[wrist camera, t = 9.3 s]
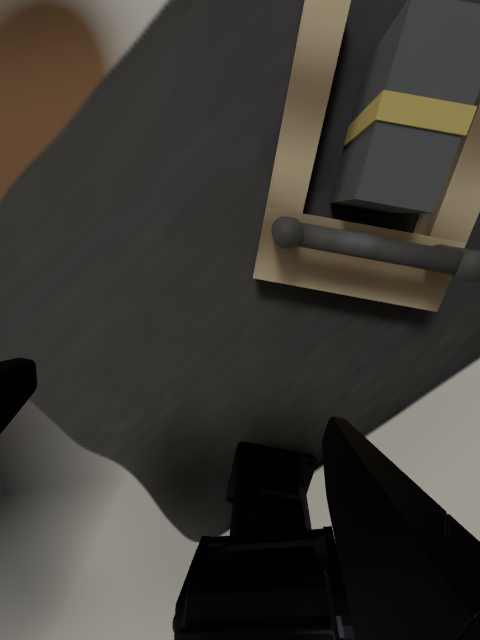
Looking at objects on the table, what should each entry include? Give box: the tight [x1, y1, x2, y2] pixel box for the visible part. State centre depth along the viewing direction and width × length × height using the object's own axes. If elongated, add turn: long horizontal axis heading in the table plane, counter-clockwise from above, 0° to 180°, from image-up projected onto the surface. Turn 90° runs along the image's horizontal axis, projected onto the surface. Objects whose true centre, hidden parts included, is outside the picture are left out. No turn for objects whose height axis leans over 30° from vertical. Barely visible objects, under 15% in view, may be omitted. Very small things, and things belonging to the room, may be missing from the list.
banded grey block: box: [331, 0, 480, 213], centre depth 14 cm, size 4×7×5 cm, turn 170°
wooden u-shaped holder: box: [253, 0, 480, 312], centre depth 15 cm, size 14×11×5 cm
